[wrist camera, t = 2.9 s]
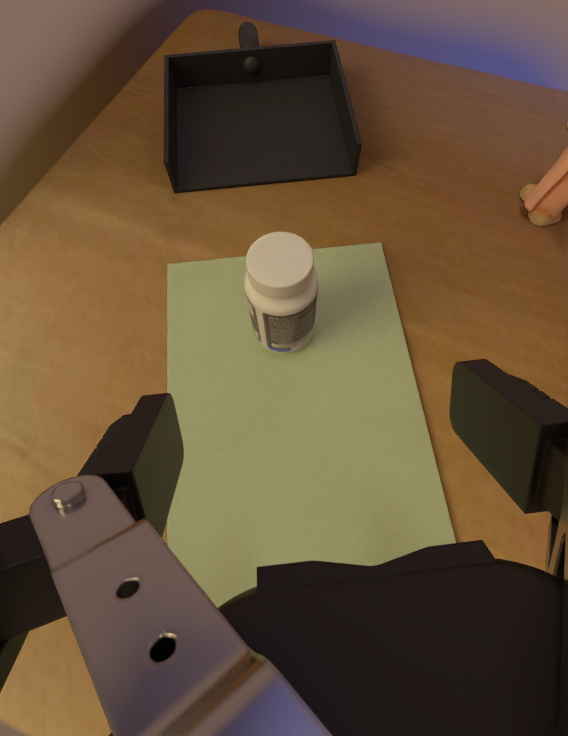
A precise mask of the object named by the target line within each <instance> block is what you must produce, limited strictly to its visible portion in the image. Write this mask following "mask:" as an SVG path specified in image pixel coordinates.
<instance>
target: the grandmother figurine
mask: <svg viewBox="0 0 568 736" xmlns="http://www.w3.org/2000/svg"><path fill="white" fill-rule="evenodd" d="M566 128H567V130H568V121H567V123H566ZM520 197H521V198H522V200H524V201H525V207H526V209H527V210H528V211H529V212H528V217H529V219H530V221H531V223H533V224H534V225H536V226H547V225H550V224H555V223H558V222H559V221H560V220H561V216H562V214H561V211H562V210H563V209H564V208H565V207H566V206H567V205H568V146H567V148H566V149H565V150H564V152H563V153H562V154H561V156H560V157H559V158H558V160H557V161H556V162H555V163H554V165H553V166H552V167H551V169H550V170H549V171H548V172H547V173H546V175H545V176H544V177H543V178H542V179H541V181H540V182H539V184H538V185H536V184H528V185H526V186H524V187H523V188H522V189H521V190H520Z"/></svg>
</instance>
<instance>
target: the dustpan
mask: <svg viewBox="0 0 568 736" xmlns="http://www.w3.org/2000/svg"><path fill="white" fill-rule="evenodd" d="M238 34H239V43H240V49H229V50H218V51H206V52H195V53H184V54H172V55H165V56H164V164H165V167H166V170H167V173H168V176H169V178H170V181H171V184H172V187H173V190H174V193H178V192H189V191H199V190H209V189H220V188H230V187H240V186H251V185H261V184H271V183H281V182H292V181H302V180H312V179H323V178H333V177H343V176H354V175H356V172H357V167H358V162H359V156H360V151H361V145H362V143H361V139H360V135H359V131H358V127H357V123H356V119H355V115H354V112H353V108H352V104H351V100H350V96H349V92H348V88H347V84H346V80H345V77H344V73H343V69H342V65H341V61H340V57H339V53H338V49H337V45H336V42H335V40H331V41H319V42H308V43H297V44H285V45H274V46H263V47H259V41H258V34H257V29H256V27H255V26H254V24H252V23H251V22H244V23H242V24H241V26H240V28H239V33H238ZM320 75H325V76H320ZM309 76H314V77H309ZM298 77H303V78H298ZM287 78H292V79H287ZM276 79H281V80H276ZM265 80H270V81H265ZM254 81H259V82H254ZM243 82H248V83H243ZM232 83H236V84H232ZM221 84H225V85H221ZM210 85H214V86H210ZM199 86H203V87H199ZM188 87H192V88H188ZM177 88H181V89H177Z"/></svg>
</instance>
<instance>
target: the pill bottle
mask: <svg viewBox="0 0 568 736" xmlns="http://www.w3.org/2000/svg"><path fill="white" fill-rule="evenodd" d="M246 267H247V273H246V275H245V280H244V288H245V293H246V298H247V302H248V307H249V312H250V317H251V322H252V327H253V331H254V335H255V337H256V339H257V340H258V342H259V343H260V344H261V345H262V346H264V347H265V348H266V349H268V350H270V351H273V352H276V353H290V352H294V351H297V350H299V349H301V348H302V347H303V346H304V345H305V344H307V342H308V341H309V340H310V338H311V336H312V334H313V331H314V324H315V313H316V303H317V293H318V277H317V273H316V271H315V269H314V255H313V251H312V249H311V247H310V246H309V244H308V243H307V242H306V241H305V240H304V239H303V238H301V237H300V236H298V235H295V234H293V233H289V232H273V233H269V234H266V235H264V236H262V237H260V238H259V239H257V240H256V241H255V242H254V243H253V244H252V245H251V247H250V248H249V250H248V253H247V256H246Z"/></svg>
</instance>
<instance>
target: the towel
mask: <svg viewBox="0 0 568 736" xmlns="http://www.w3.org/2000/svg"><path fill="white" fill-rule="evenodd" d="M312 251H313V255H314V269H315V271H316V273H317V277H318V293H317V303H316V313H315V324H314V331H313V334H312V336H311V338H310V340H309V341H308V342H307V344H305V345H304V346H303V347H302V348H301V349H299V350H297V351H294V352H290V353H276V352H273V351H270V350H268V349H266V348H265V347H264V346H262V345H261V344H260V343H259V342H258V340H257V339H256V337H255V335H254V331H253V327H252V322H251V317H250V312H249V307H248V302H247V298H246V293H245V288H244V280H245V275H246V273H247V267H246V256H242V257H232V258H222V259H212V260H202V261H192V262H182V263H173V264H167V393H170V394H171V395H172V397H173V400H174V404H175V408H176V413H177V417H178V422H179V427H180V431H181V436H182V440H183V447H184V459H183V465H182V468H181V472H180V475H179V479H178V482H177V486H176V489H175V493H174V497H173V500H172V504H171V507H170V511H169V514H168V518H167V545H168V547H169V548H170V549H171V550H172V552H173V553H174V554H175V555H176V557H177V558H178V559H179V560H180V562H181V563H182V564H183V565H184V567H185V568H186V569H187V570H188V572H189V573H190V574H191V576H192V577H193V578H194V579H195V581H196V582H197V583H198V584H199V586H200V587H201V588H202V589H203V591H204V592H205V593H206V594H207V596H208V597H209V598H210V599H211V601H212V602H213V603H214V604H215V606H216V607H217V608H218V607H219V606H221V605H222V604H223V603H225V602H227V601H228V600H230V599H231V598H233V597H234V596H236V595H238V594H240V593H242V592H244V591H246V590H249V589H251V588H254V587H256V586H257V567H261V566H269V565H278V564H286V563H294V562H303V561H311V560H315V561H325V562H335V563H345V564H355V565H365V566H375V565H379V564H382V563H385V562H388V561H390V560H393V559H396V558H398V557H401V556H404V555H406V554H409V553H412V552H414V551H417V550H420V549H422V548H425V547H428V546H436V545H445V544H453V543H456V541H455V537H454V533H453V529H452V525H451V521H450V517H449V513H448V509H447V505H446V501H445V497H444V493H443V489H442V485H441V481H440V477H439V473H438V469H437V465H436V461H435V457H434V453H433V449H432V445H431V441H430V437H429V433H428V429H427V425H426V421H425V417H424V413H423V409H422V405H421V401H420V397H419V393H418V389H417V385H416V381H415V377H414V373H413V369H412V365H411V361H410V357H409V353H408V349H407V345H406V341H405V337H404V333H403V329H402V325H401V321H400V317H399V313H398V309H397V305H396V301H395V297H394V293H393V289H392V285H391V281H390V277H389V273H388V269H387V265H386V261H385V257H384V253H383V249H382V245H381V242H380V243H370V244H360V245H350V246H340V247H330V248H321V249H312Z"/></svg>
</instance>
